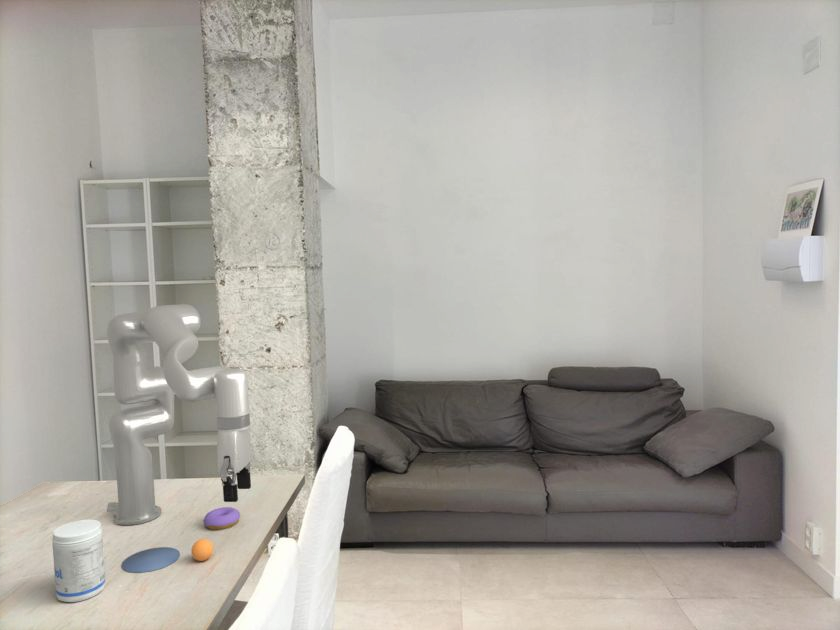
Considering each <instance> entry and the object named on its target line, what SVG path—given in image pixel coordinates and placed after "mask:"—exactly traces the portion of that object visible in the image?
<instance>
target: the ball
mask: <svg viewBox="0 0 840 630" xmlns="http://www.w3.org/2000/svg"><path fill="white" fill-rule="evenodd" d="M190 551H191V556H192V558H194V559H195V560H196V561H198V562H203V561H207V560H208V559H209V558H211V556H212V555H213V553H214V544H213V543H212V541H210V540H209V539H207V538H200V539H198V540H196V541H195V542H194V543H193V545H192V547H191V550H190Z"/></svg>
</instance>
